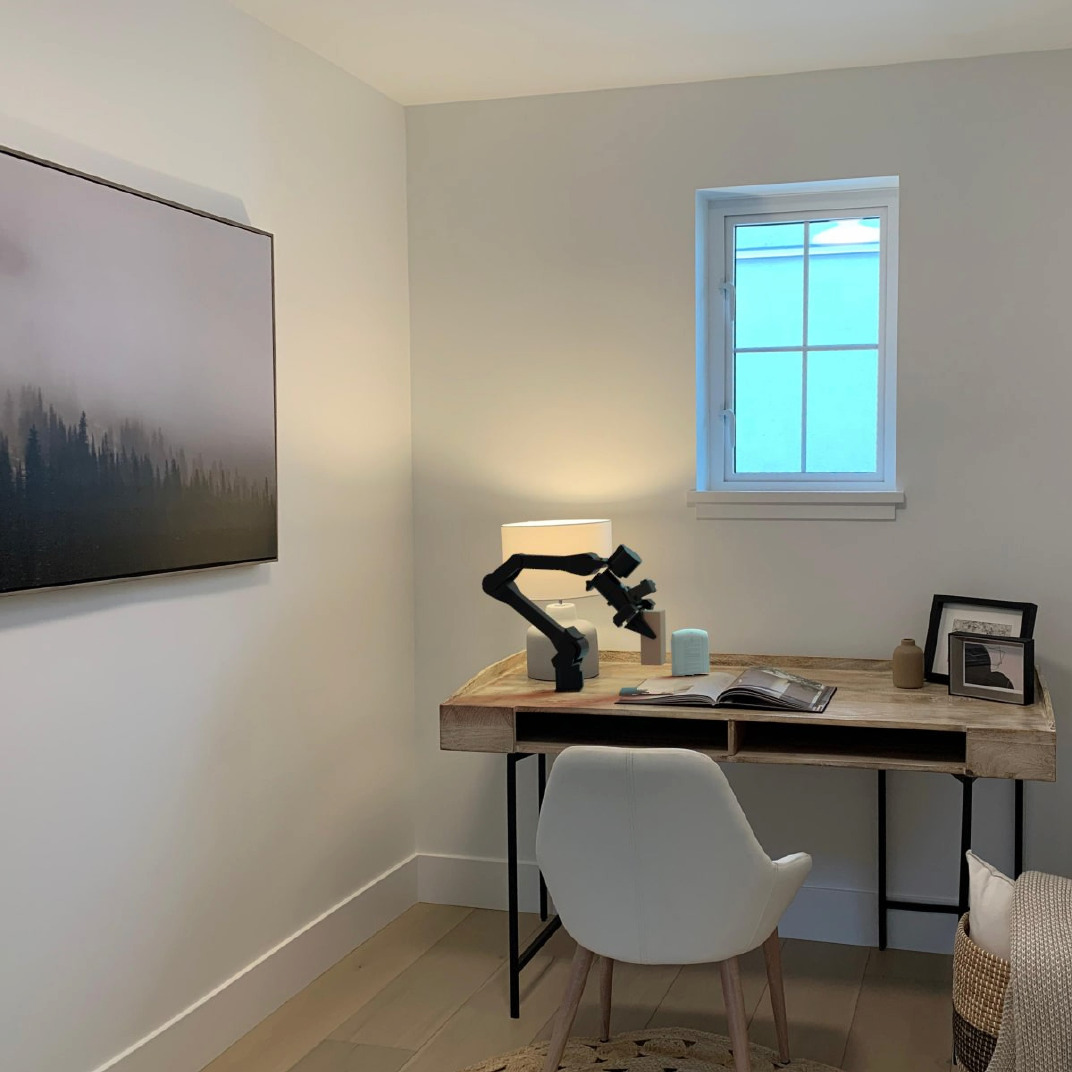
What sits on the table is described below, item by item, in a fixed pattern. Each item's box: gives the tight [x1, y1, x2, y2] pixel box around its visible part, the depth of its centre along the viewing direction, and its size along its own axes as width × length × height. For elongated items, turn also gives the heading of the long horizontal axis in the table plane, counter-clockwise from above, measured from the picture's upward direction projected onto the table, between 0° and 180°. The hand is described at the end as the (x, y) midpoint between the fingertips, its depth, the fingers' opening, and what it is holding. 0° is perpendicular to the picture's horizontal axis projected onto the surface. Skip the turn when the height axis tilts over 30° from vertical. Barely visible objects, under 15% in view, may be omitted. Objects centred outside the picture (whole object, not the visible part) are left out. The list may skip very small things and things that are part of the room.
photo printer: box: [670, 628, 710, 677], centre depth 317 cm, size 10×4×12 cm, turn 98°
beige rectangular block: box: [639, 609, 667, 666], centre depth 292 cm, size 5×5×13 cm
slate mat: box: [618, 686, 649, 697], centre depth 291 cm, size 13×9×1 cm
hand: (658, 637), depth 291 cm, fingers closed on beige rectangular block, 5 cm apart
